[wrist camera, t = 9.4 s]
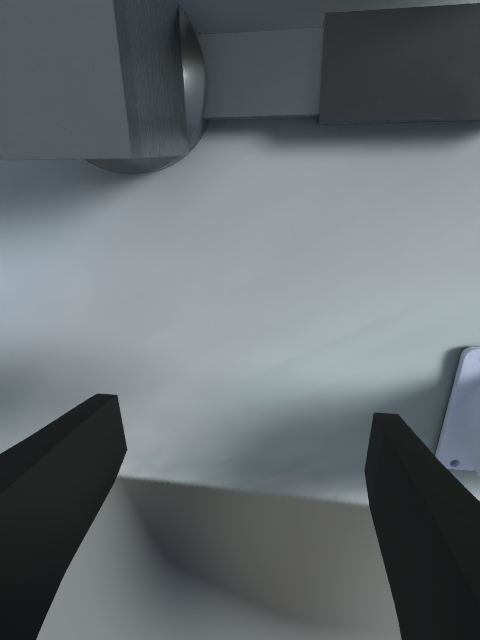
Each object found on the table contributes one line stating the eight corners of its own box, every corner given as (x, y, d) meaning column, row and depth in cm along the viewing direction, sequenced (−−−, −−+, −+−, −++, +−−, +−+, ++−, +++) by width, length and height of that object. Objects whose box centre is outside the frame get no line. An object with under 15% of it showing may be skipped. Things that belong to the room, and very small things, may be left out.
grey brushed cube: (177, -9, 14) (99, -113, 8) (188, 155, 16) (132, 158, 10) (39, 1, 14) (-117, -89, 9) (68, 156, 17) (-43, 160, 11)
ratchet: (556, -47, 13) (671, -134, 9) (503, 167, 16) (573, 172, 12) (46, -7, 16) (-40, -61, 12) (79, 172, 19) (18, 178, 15)
